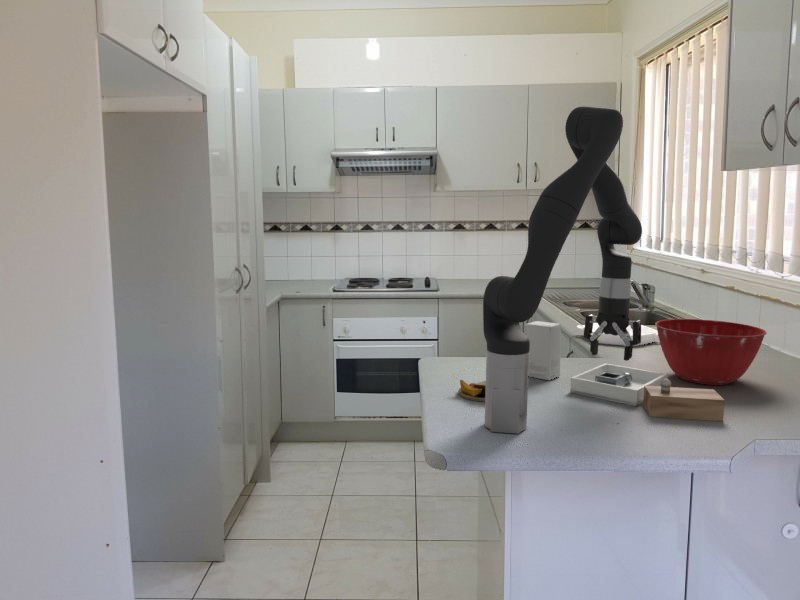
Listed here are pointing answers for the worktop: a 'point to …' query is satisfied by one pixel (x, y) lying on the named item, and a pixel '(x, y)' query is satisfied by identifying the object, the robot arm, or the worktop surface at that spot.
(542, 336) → the skincare box
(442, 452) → the worktop surface
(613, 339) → the white serving platter
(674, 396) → the stud block
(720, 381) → the mixing bowl
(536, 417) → the worktop surface
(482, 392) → the toy sandwich meal
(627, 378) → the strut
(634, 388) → the bin
